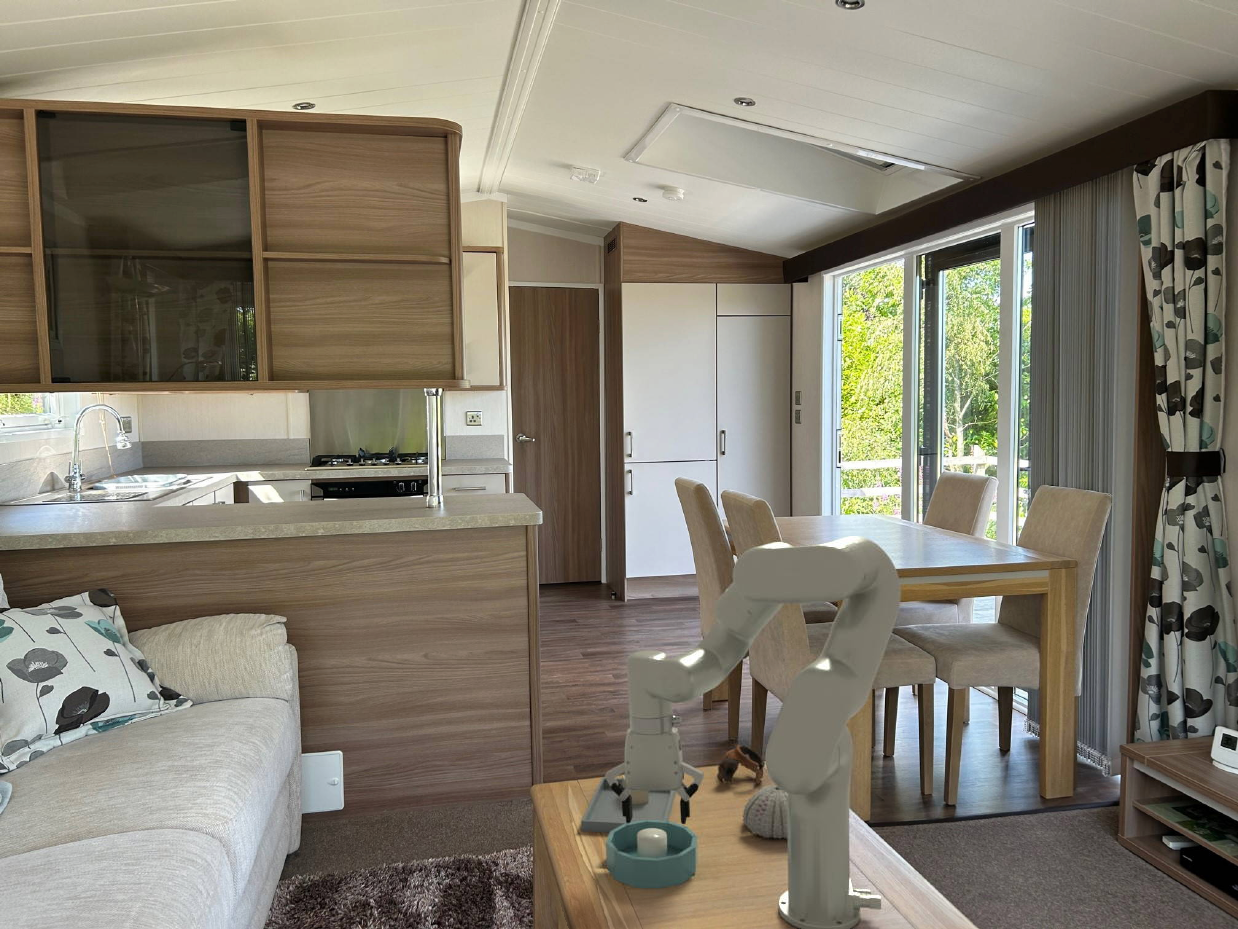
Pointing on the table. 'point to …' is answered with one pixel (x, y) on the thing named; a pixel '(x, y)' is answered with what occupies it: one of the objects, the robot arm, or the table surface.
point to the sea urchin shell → (767, 812)
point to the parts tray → (608, 808)
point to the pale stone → (652, 843)
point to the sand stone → (637, 794)
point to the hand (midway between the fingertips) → (656, 820)
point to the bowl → (651, 870)
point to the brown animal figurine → (738, 754)
